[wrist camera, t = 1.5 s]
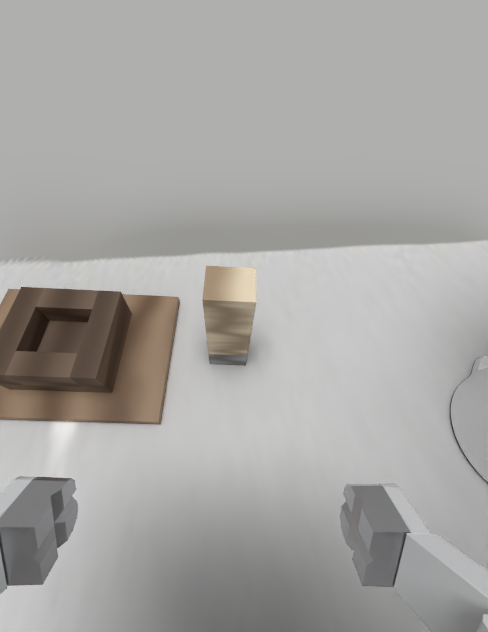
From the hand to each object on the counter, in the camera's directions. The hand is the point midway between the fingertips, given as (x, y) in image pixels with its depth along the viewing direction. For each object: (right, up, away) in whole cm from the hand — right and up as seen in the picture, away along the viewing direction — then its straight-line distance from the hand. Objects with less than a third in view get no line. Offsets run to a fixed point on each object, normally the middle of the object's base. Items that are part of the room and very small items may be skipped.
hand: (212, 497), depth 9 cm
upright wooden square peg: (-1, +1, +28) cm, 28 cm away
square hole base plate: (-19, +1, +27) cm, 33 cm away
